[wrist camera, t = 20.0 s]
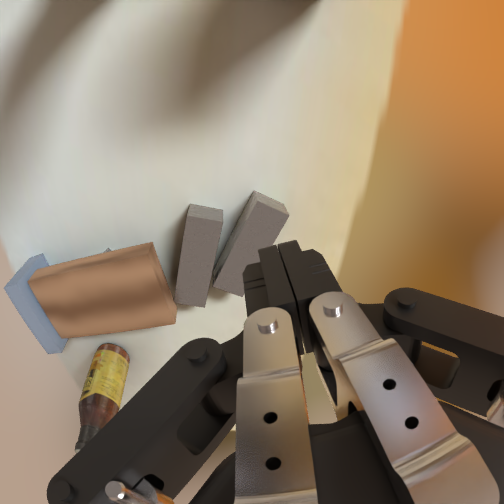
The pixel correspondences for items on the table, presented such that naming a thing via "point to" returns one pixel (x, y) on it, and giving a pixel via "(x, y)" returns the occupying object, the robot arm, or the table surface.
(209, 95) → the table surface
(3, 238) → the table surface
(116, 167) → the table surface
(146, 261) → the slab
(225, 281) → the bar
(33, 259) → the stop block
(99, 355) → the sauce bottle
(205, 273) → the bar middle
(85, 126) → the table surface
